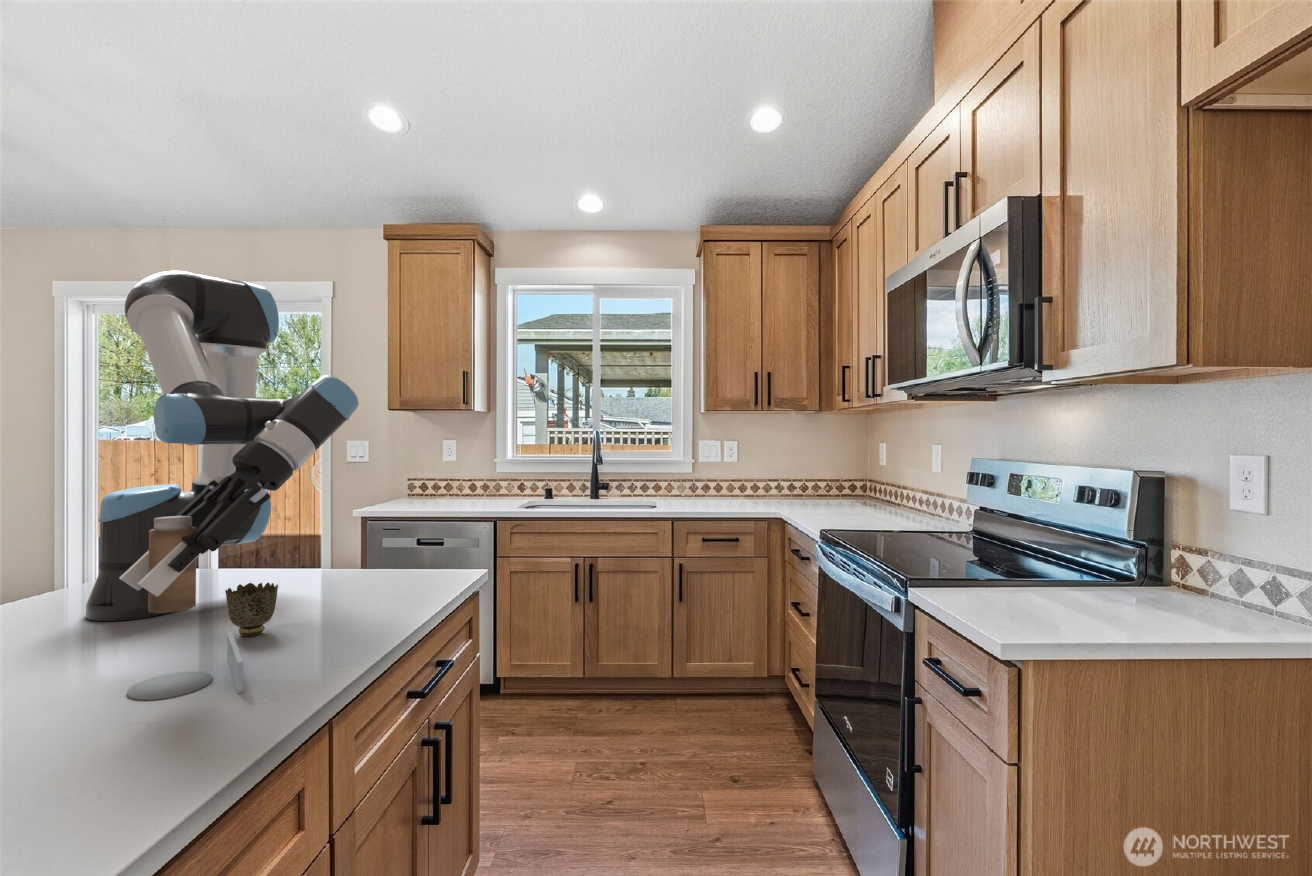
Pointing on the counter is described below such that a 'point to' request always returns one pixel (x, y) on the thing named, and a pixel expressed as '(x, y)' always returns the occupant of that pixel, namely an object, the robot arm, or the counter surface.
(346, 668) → the counter surface
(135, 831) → the counter surface
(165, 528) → the pepper mill
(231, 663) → the acrylic wall
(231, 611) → the cup
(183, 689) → the coaster
